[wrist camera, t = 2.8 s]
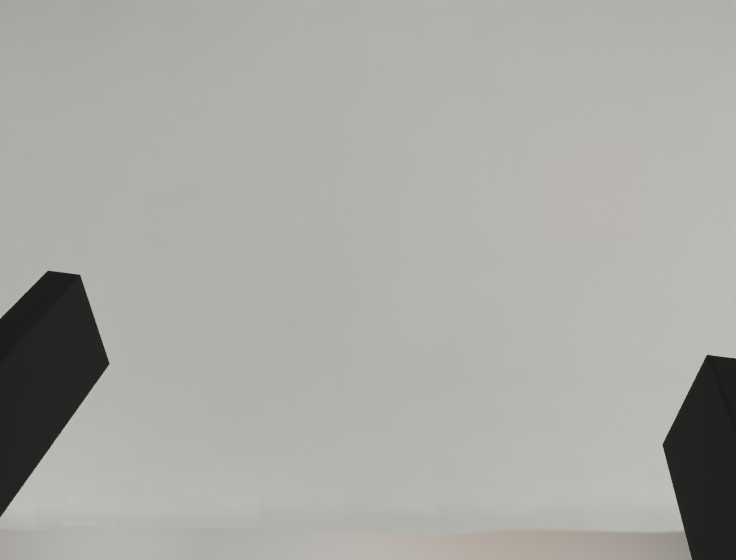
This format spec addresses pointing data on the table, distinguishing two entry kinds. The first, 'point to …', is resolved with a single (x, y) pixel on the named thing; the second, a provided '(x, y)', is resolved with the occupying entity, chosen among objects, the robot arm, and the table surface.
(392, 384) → the table surface
